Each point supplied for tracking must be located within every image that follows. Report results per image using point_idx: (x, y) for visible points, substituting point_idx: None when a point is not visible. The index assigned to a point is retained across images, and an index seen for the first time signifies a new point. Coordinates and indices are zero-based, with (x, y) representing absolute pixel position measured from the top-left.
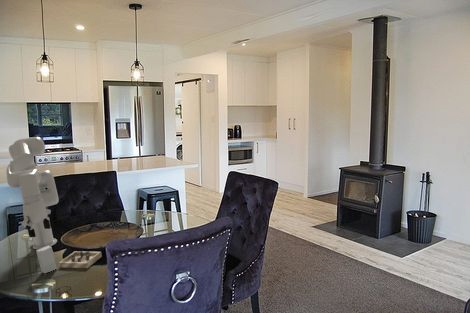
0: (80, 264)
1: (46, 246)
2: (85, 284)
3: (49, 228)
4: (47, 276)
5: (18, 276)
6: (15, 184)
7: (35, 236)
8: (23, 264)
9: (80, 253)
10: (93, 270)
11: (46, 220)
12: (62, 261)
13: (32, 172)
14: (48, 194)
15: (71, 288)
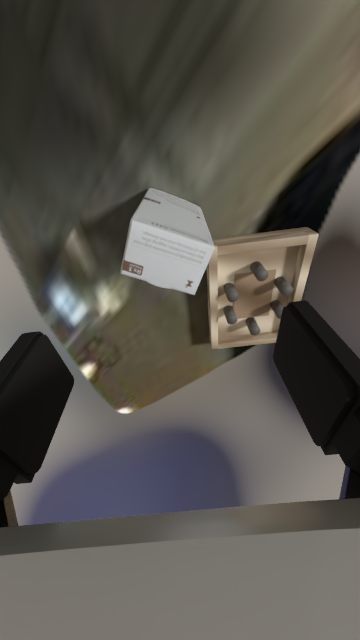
0: (210, 328)
1: (198, 251)
2: (139, 379)
3: (276, 356)
4: None
5: (71, 46)
6: None
7: (68, 384)
8: None
9: (279, 289)
10: (200, 357)
11: (342, 452)
12: (219, 254)
13: None
14: None
15: (113, 365)
